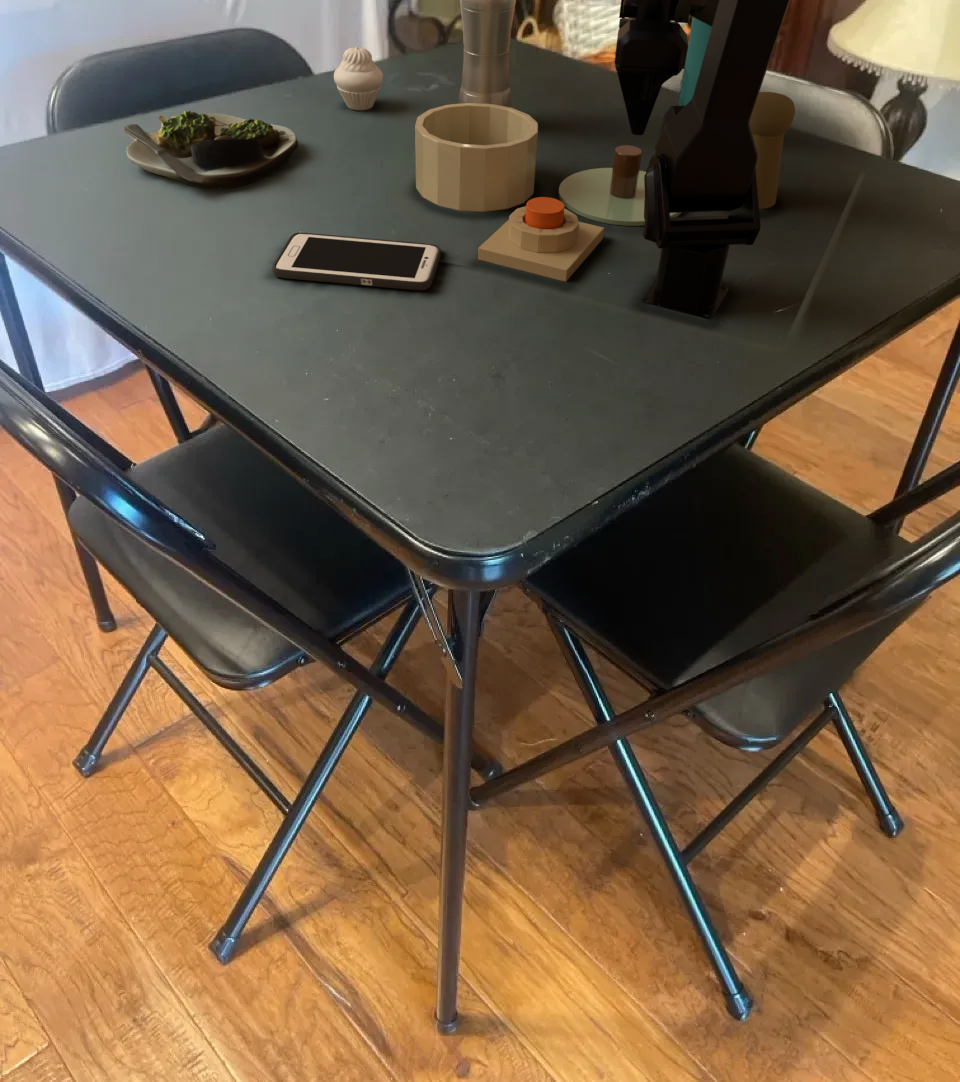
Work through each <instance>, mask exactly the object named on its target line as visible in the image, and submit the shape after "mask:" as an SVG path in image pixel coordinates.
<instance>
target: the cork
mask: <svg viewBox="0 0 960 1082" xmlns="http://www.w3.org/2000/svg"><path fill="white" fill-rule="evenodd" d="M795 114H796V107H795V103H794V101H793V100H792V98H790V97H789V96H788V95H786V94H783V93H778V92H775V91H773V92H772V91H759V94H758V97H757V100H756V103H755V106H754V109H753V112H752V115H751V119H750V122H749V124H750V128H751V131H752V135H753V138H754V142H755V146H756V149H757V153H758V160H757V163H756V167H755V169H756V180H757V191H758V202H759V210H766V209H769V208H772V207H773V206H774V205H775V204H776V201H777V196H778V195H777V194H778V188H779V181H780V180H779V179H780V171H781V165H782V164H781V163H782V154H783V146H784V139H785V133H786V132H787V131H788V130H789V129H790V127H791V126H792V124H793V121H794V119H795Z"/></svg>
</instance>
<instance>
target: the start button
mask: <svg viewBox="0 0 960 1082" xmlns="http://www.w3.org/2000/svg"><path fill="white" fill-rule="evenodd" d="M525 206H526V217H525V223H526V224H527V225H528V226H530V227H533V228H538V229H556V228H559V227H562V225H563V218H564V208H565V209H566V206H564V204H563V203H562V202H561V201H560V199H557V198H553V197H549V196H548V197H547V196H539V197H533V198H531V199H529V200H527V202H526V205H525Z"/></svg>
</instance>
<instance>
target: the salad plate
mask: <svg viewBox="0 0 960 1082" xmlns="http://www.w3.org/2000/svg"><path fill="white" fill-rule="evenodd" d="M158 120H159V122H160V124H161V127H160V128H159V129H158V130H155V131H154V132H147V131H145V130H144V129H143V128H142V127H141V126H140V125H139V124H137V123H133V124H132V123H130V124H127V125H126V126H124V127H123V130H124V131H123V132H124V133H125V134H126V135H127V136H128V137H130V139H132V142H131V143H129V144H128V145H127V147H126V155H127V159H128V160H129V162H130V163H132V164H133V165H136V166H137V167H139V168H141V169H143V170H145V171H148V172H150V173H153V174H156V175H159V176H162V177H166V178H169V179H171V180H175V181H178V182H181V183H183V184H186V185H190V186H194V187H198V188H203V189H211V190H212V189H214V190H216V189H217V190H220V189H222V190H223V189H231V188H239V187H242V186H246V185H250V184H253V183H254V182H257V181H259V180H260V179H264V178H265V177H266V176H268V175H271V174H272V173H274V172H276V171H278V170H280V169H281V168H283V167H284V166H285V165H287V163H288V162H289V161H290V159H291V158H292V156H293V155H294V153H295V152H296V151H297V149H298V147H299V141H298V138H297V135H296V134H295V133H294V131H293V130H292V129H290V128H288V127H286V126H284V125H283V126H282V125H278V124H272V123H268V122H264V121H263V120H261V119H254V118H251V117H250V118H249V119H246V118H243V117H238V116H235V115H229V114H225V113H220V112H219V113H217V112H216V113H215V112H214V113H198V112H195V111H191V110H187V111H186V110H183V112H182V113H179V115H173V116H171V117H170V118H168V119H165V118H164V116H163V115H160V116H159V117H158Z"/></svg>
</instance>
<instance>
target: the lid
mask: <svg viewBox="0 0 960 1082" xmlns="http://www.w3.org/2000/svg"><path fill="white" fill-rule="evenodd" d="M642 156H643V151H642V149H641V148H639V147H637V146H635V145H629V144H628V145H627V144H626V145H618V146H617V147H615V149H614V153H613V160H612V161H613V162H612V167H599V168H590V169H584V170H581V171H578V172H575V173H572V174H571V175H569V176H567V177H565V178H564V179H563V180H562V181H561V183H560V184H559V186H558V200H559V201H561V202H562V203H563V204H564V206H565V208H566V209H567V210H568V211H570V212H572V213H573V214H575V215H578V216H581V217H583V218H585V219H588V220H591V221H595V222H597V223H603V224H608V225H614V226H615V225H616V226H625V227H640V226H641V227H642V226H643V227H644V226H645V220H644V203H645V186H644V176H645V174H646V171H645V170H644V171H643V170H640V169H641V163H642ZM682 213H683V212H681V213H670V217H680V215H681V214H682Z"/></svg>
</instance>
